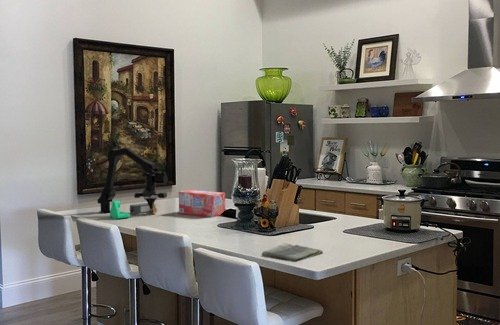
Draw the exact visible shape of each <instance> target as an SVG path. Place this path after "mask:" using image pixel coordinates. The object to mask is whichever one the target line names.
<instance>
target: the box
mask: <svg viewBox="0 0 500 325" xmlns="http://www.w3.org/2000/svg"><path fill="white" fill-rule="evenodd" d="M224 211H226V192H221V191H220V192H219V191H209V190H208V191H207V190H199V189H198V190H196V189H188V190H187V189H186V190H180V191H178V213H179V214H180V215H181V214H182V215H190V216H198V217H204V218H206V217H207V218H215V217H220V216H222V215H221V214H222V213H223V212H224Z"/></svg>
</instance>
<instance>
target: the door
mask: <svg viewBox="0 0 500 325" xmlns="http://www.w3.org/2000/svg"><path fill="white" fill-rule="evenodd" d="M157 212H158V210H157V203H154V206H153V212H152V213H153V215H156V213H157Z"/></svg>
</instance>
